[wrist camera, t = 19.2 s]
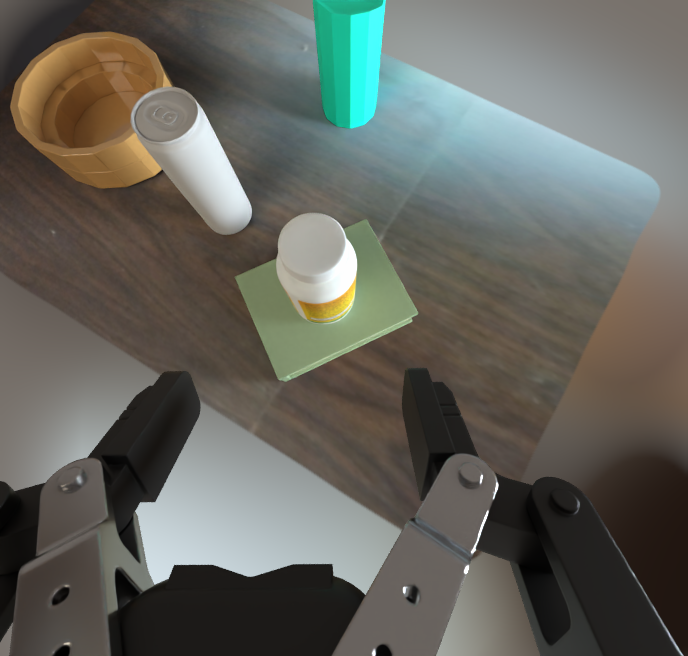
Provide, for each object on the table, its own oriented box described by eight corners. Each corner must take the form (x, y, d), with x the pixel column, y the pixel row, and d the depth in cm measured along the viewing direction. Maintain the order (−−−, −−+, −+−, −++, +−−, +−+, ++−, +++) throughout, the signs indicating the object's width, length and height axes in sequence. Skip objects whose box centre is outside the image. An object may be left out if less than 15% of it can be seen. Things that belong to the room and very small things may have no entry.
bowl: (77, 211, 33) (30, 178, 28) (44, 109, 36) (-3, 63, 31) (207, 158, 34) (184, 118, 29) (165, 63, 37) (137, 12, 32)
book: (285, 382, 29) (278, 379, 26) (245, 288, 31) (234, 276, 28) (411, 321, 30) (418, 313, 27) (364, 235, 32) (366, 218, 29)
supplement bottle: (280, 301, 27) (244, 250, 18) (319, 255, 28) (304, 184, 19) (329, 338, 27) (318, 305, 17) (367, 291, 27) (377, 234, 18)
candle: (340, 137, 35) (336, 3, 23) (312, 100, 36) (294, -46, 24) (386, 112, 35) (404, -31, 24) (357, 76, 36) (361, -77, 25)
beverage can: (236, 245, 32) (171, 155, 20) (198, 224, 33) (113, 126, 21) (262, 208, 33) (214, 101, 21) (224, 188, 33) (157, 74, 22)
